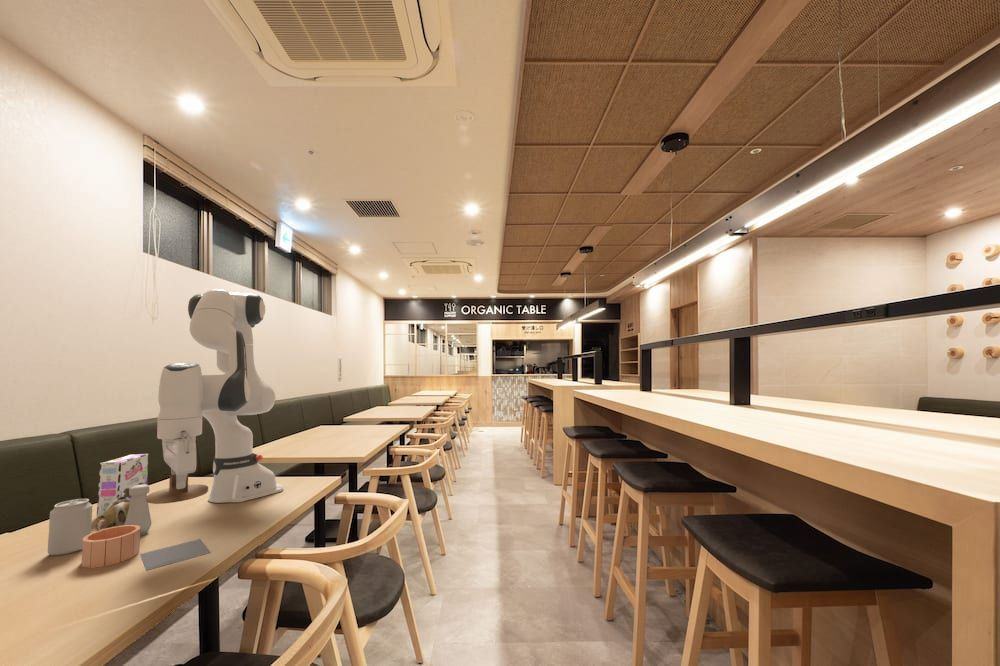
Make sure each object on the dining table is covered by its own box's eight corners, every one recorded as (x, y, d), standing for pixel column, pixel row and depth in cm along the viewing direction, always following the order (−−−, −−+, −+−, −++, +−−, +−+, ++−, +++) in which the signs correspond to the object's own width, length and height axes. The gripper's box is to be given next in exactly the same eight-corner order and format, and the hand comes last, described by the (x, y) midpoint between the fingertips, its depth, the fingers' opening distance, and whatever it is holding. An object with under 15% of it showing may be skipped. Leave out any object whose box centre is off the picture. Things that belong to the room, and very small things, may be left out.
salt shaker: (134, 539, 112) (136, 489, 113) (117, 538, 113) (119, 488, 114) (156, 530, 117) (158, 482, 118) (139, 529, 119) (141, 482, 120)
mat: (200, 540, 110) (200, 538, 110) (210, 554, 102) (210, 552, 102) (140, 555, 102) (140, 554, 102) (146, 572, 93) (146, 570, 93)
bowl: (136, 546, 107) (137, 521, 108) (141, 558, 100) (142, 532, 101) (81, 559, 100) (82, 533, 101) (81, 573, 93) (83, 545, 94)
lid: (202, 484, 112) (203, 466, 112) (213, 494, 103) (213, 474, 104) (143, 495, 103) (144, 475, 103) (149, 507, 95) (150, 485, 95)
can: (39, 560, 100) (43, 508, 101) (57, 548, 107) (60, 499, 108) (81, 554, 103) (84, 503, 104) (96, 542, 110) (98, 495, 111)
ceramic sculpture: (143, 486, 131) (149, 499, 120) (142, 514, 130) (148, 530, 120) (95, 494, 123) (97, 509, 113) (94, 525, 123) (96, 542, 112)
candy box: (117, 516, 130) (120, 461, 131) (95, 518, 129) (98, 462, 130) (147, 502, 143) (149, 452, 145) (127, 503, 143) (130, 453, 144)
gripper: (205, 432, 99) (203, 492, 98) (188, 423, 113) (186, 475, 113) (171, 435, 95) (169, 499, 94) (158, 426, 109) (156, 481, 108)
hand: (178, 486), depth 103 cm, fingers closed on lid, 3 cm apart
